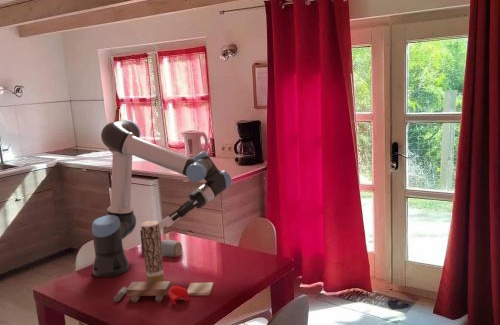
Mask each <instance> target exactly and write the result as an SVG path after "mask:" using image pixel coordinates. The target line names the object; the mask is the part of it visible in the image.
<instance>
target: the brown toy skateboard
mask: <svg viewBox="0 0 500 325" xmlns="http://www.w3.org/2000/svg"><path fill="white" fill-rule="evenodd" d="M171 287H172V282H171V280H169V281H168V280H164V281H153V282H147V281H132V282H131V283H130V285H129V286H128V287H126V286H123V287H121V288H120V290H118V292H117V293H116V295H114V297H113V301H114V303H119V302H120V301H121V300H122V298H123V297H124V296H125V295H126V297H131V303H137V302H138V301H139V300H140V298H141V297H143V296H144V297H145V296H149V297H151V296H155V298H154V299H155V301H156V302H157V303H160V302H162V300H163V299H164V297H165V296H167V295H169V294H168V292H169V290H170V288H171Z"/></svg>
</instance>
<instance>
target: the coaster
mask: <svg viewBox="0 0 500 325" xmlns="http://www.w3.org/2000/svg"><path fill="white" fill-rule="evenodd" d="M213 286H214V282H212V281H211V282H190V284H189V285H188V288H187V289H186V290H187V291H188V296H189V297H190V296H210V294H211V292H212V289H213Z"/></svg>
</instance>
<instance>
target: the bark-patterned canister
mask: <svg viewBox="0 0 500 325" xmlns="http://www.w3.org/2000/svg"><path fill="white" fill-rule="evenodd" d="M140 229H141V230H142V238H143V248H144V251H143V256H144V264H145V276H146V282H153V281H165V277H164V276H165V275H164V265H163V264H164V263H163V256H162V252H161V242H162V241H161V242H160V232H159V221H158V220H147V221H144V222H141V224H140Z"/></svg>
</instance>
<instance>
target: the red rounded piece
mask: <svg viewBox="0 0 500 325" xmlns="http://www.w3.org/2000/svg"><path fill="white" fill-rule="evenodd" d="M167 295H168V297H169V299H170V301H171V302H172V303H173V305H174V306H177V300H179V299H180V298H184V299H185V300H187V302H190V296H188V291H187V289H186V288H185V287H183V286H181V285H180V286H178V285H174V286H171V288H170V290H169V292H168V294H167Z"/></svg>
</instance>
